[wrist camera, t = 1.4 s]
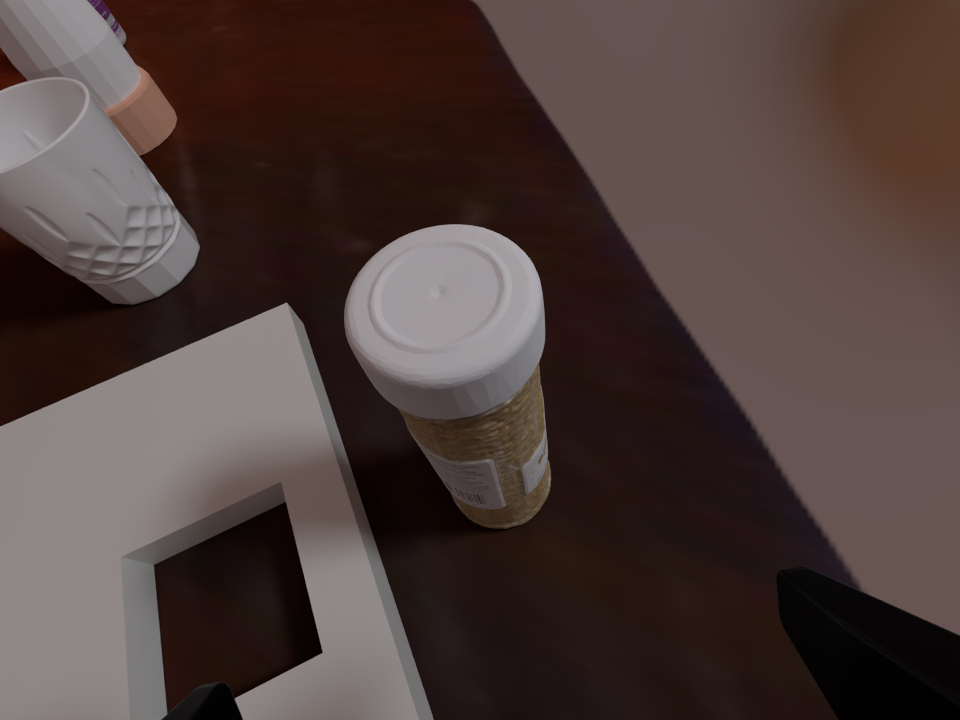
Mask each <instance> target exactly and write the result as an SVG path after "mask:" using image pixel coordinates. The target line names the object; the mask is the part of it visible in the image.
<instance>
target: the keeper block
mask: <svg viewBox="0 0 960 720" xmlns="http://www.w3.org/2000/svg"><path fill="white" fill-rule="evenodd" d="M284 502H286V504H287V508H288V512H289V516H290V520H291V524H292V529H293V533H294V537H295V541H296V545H297V549H298V553H299V557H300V561H301V565H302V569H303V573H304V578H305V582H306V586H307V590H308V594H309V598H310V602H311V606H312V610H313V614H314V618H315V622H316V627H317V631H318V635H319V639H320V643H321V647H322V651H323V653H322V654H320V655H318V656H316V657H314V658H312V659H310V660H308V661H306V662H304V663H303V664H301V665H299V666H297V667H295V668H293V669H291V670H289V671H287V672H285V673H283V674H281V675H279V676H277V677H275V678H274V679H272V680H270V681H268V682H266V683H264V684H262V685H260V686H258V687H256V688H254V689H252V690H250V691H248V692H246V693H245V694H243V695H241V696H239V697H237V698H235V701H236V703H237V706H238V708H239V710H240V713H241V715H242V718H243V720H434V719H433V716H432V713H431V710H430V707H429V704H428V701H427V698H426V695H425V692H424V689H423V686H422V683H421V680H420V677H419V674H418V671H417V668H416V665H415V661H414V658H413V655H412V652H411V649H410V646H409V643H408V640H407V637H406V634H405V631H404V628H403V625H402V622H401V619H400V616H399V613H398V610H397V607H396V604H395V601H394V598H393V595H392V592H391V589H390V586H389V583H388V580H387V577H386V574H385V570H384V567H383V564H382V561H381V558H380V555H379V552H378V549H377V546H376V543H375V540H374V537H373V534H372V531H371V528H370V525H369V522H368V519H367V516H366V513H365V510H364V507H363V504H362V501H361V498H360V495H359V492H358V489H357V486H356V483H355V479H354V476H353V473H352V470H351V467H350V464H349V461H348V458H347V455H346V452H345V449H344V446H343V443H342V440H341V437H340V434H339V431H338V428H337V425H336V422H335V419H334V416H333V413H332V410H331V407H330V404H329V401H328V398H327V395H326V392H325V388H324V385H323V382H322V379H321V376H320V373H319V370H318V367H317V364H316V361H315V358H314V355H313V352H312V349H311V346H310V343H309V340H308V337H307V334H306V331H305V328H304V325H303V323H302V322H301V320H300V319H299V318H298V316H297V315H296V314H295V313H294V311H293V310H292V309H291V307H290V306H289V305H288V303H285V304H283V305H281V306H278V307H276V308H274V309H271V310H269V311H267V312H264V313H262V314H260V315H257V316H255V317H253V318H251V319H248V320H246V321H244V322H241V323H239V324H237V325H234V326H232V327H230V328H227V329H225V330H223V331H220V332H218V333H216V334H214V335H211V336H209V337H207V338H204V339H202V340H200V341H197V342H195V343H193V344H190V345H188V346H186V347H184V348H181V349H179V350H177V351H174V352H172V353H170V354H167V355H165V356H163V357H160V358H158V359H156V360H153V361H151V362H149V363H147V364H144V365H142V366H140V367H137V368H135V369H133V370H130V371H128V372H126V373H123V374H121V375H119V376H117V377H114V378H112V379H110V380H107V381H105V382H103V383H100V384H98V385H96V386H93V387H91V388H89V389H86V390H84V391H82V392H80V393H77V394H75V395H73V396H70V397H68V398H66V399H63V400H61V401H59V402H56V403H54V404H52V405H50V406H47V407H45V408H43V409H40V410H38V411H36V412H33V413H31V414H29V415H26V416H24V417H22V418H19V419H17V420H15V421H13V422H10V423H8V424H6V425H3V426H1V427H0V720H161V719H163V718H164V717H165V716H166V715H167V706H166V695H165V684H164V673H163V662H162V651H161V640H160V629H159V618H158V607H157V596H156V585H155V574H154V565H155V564H157V563H159V562H161V561H163V560H165V559H167V558H169V557H171V556H173V555H176V554H178V553H180V552H182V551H184V550H186V549H188V548H190V547H192V546H194V545H196V544H199V543H201V542H203V541H205V540H207V539H209V538H211V537H213V536H215V535H217V534H219V533H222V532H224V531H226V530H228V529H230V528H232V527H234V526H236V525H238V524H240V523H242V522H245V521H247V520H249V519H251V518H253V517H255V516H257V515H259V514H261V513H263V512H265V511H268V510H270V509H272V508H274V507H276V506H278V505H280V504H282V503H284Z"/></svg>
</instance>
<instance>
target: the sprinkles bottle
mask: <svg viewBox="0 0 960 720" xmlns="http://www.w3.org/2000/svg"><path fill="white" fill-rule="evenodd" d="M344 324H345V331H346V336H347V339H348V342H349V345H350V347H351V348H352V350H353V352H354V354H355V356H356V358H357V360H358V361H359V363H360V365H361V366H362V368H363V370H364V371H365V373H366V374H367V376H368V378H369V379H370V381H371V382H372V383H373V385H374V386H375V388H376V389H377V391H378V392H379V393H380V394H381V395H382V396H383V397H384V398H385V399H386V400H388V401H389V402H390V403H391V404H393V405H394V406H396V407H397V408H398V410H399V411H400V413H401V414H402V416H403V417H404V419H405V422H406V424H407V427H408V429H409V431H410V433H411V434H412V436H413V437H414V439H415V441H416V442H417V444H418V445H419V447H420V448H421V450H422V451H423V453H424V454H425V456H426V457H427V459H428V460H429V462H430V463H431V465H432V466H433V468H434V469H435V471H436V472H437V474H438V475H439V477H440V478H441V480H442V481H443V483H444V484H445V486H446V487H447V489H448V490H449V491H450V492H451V495H452V497H453V500H454V502H455V503H456V505H457V506H458V507H459V509H460V511H461V512H462V513H464V514H465V515H466V517H467V518H469V519H470V520H471V521H473V522H475V523H477V524H479V525H482V526H484V527H488V528H496V529H501V528H503V529H507V528H510V527H514V526H517V525H521V524H523V523H525V522H527V521H528V520H530V519H531V518H532V517H533V516H534V515H535V514H536V513H537V512H538V511H539V510H540V508H541V506H542V505H543V504H544V502H545V500H546V498H547V497H548V494H549V490H550V483H551V470H550V464H549V461H548V459H547V457H548V447H547V436H546V426H545V413H544V400H543V394H542V388H541V385H540V371H539V360H540V358H541V355H542V351H543V348H544V342H545V318H544V304H543V295H542V288H541V283H540V279H539V276H538V273H537V271H536V269H535V267H534V265H533V263H532V262H531V260H530V259H529V257H528V256H527V255H526V254H525V252H524V251H522V250H521V249H520V248H519V247H518V246H517V245H516V244H515V243H513V242H512V241H510V240H509V239H507V238H506V237H504V236H502V235H500V234H498V233H496V232H493V231H491V230H488V229H485V228H481V227H476V226H471V225H441V226H434V227H429V228H425V229H421V230H418V231H415V232H412V233H409V234H407V235H405V236H403V237H401V238H399V239H397V240H395V241H393V242H392V243H390V244H388V245H387V246H386V247H384V248H383V249H381V250H380V251H379V252H378V253H377V254H375V255H374V256H373V257H372V258H371V259H370V260H369V261H368V262H367V263H366V265H365V266H364V267H363V268H362V269H361V271H360V272H359V273H358V275H357V277H356V278H355V280H354V282H353V283H352V286H351V288H350V290H349V293H348V297H347V300H346V303H345V311H344Z"/></svg>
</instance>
